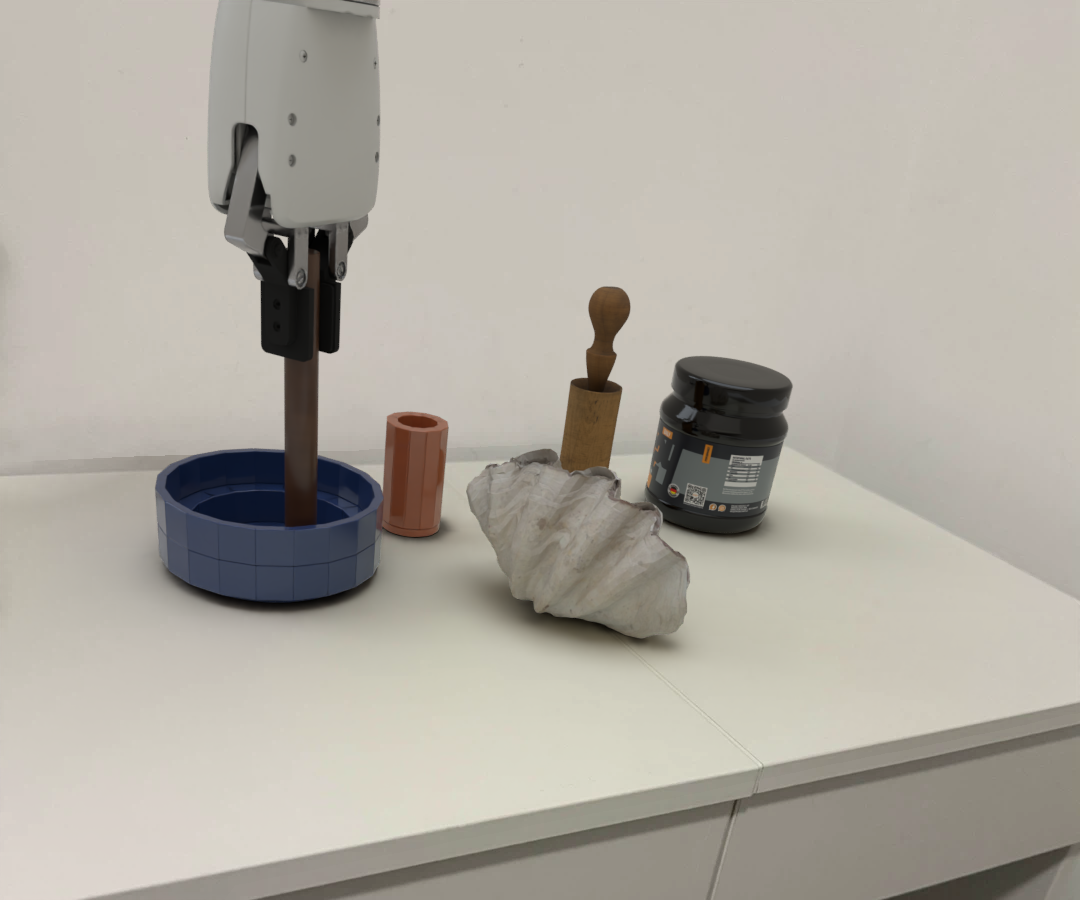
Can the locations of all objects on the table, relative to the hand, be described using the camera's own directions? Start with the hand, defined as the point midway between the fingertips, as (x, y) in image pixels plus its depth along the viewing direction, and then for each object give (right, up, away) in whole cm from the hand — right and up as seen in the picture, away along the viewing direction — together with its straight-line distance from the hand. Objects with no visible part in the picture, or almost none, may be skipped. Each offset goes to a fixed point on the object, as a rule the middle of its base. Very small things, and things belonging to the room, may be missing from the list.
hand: (300, 349), depth 62 cm
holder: (+4, -7, +18) cm, 20 cm away
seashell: (+16, -15, +9) cm, 23 cm away
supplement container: (+28, -4, +29) cm, 40 cm away
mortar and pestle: (+17, -6, +23) cm, 29 cm away
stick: (-2, -11, +7) cm, 13 cm away
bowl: (-4, -11, +9) cm, 15 cm away
